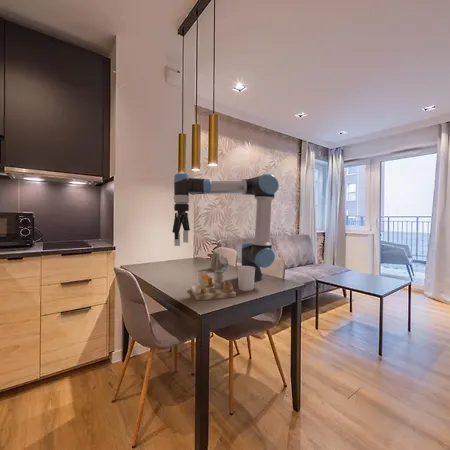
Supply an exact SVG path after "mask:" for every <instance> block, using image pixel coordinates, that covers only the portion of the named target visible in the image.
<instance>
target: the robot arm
mask: <svg viewBox="0 0 450 450" xmlns="http://www.w3.org/2000/svg"><path fill="white" fill-rule="evenodd" d="M189 175H190V174H189V173H185V172H182V173H181V172H178V173H175V175H174V176H173V177H174V179H173V191H174V194H173V200H174V204H173V205H174V207H173V208H174V211H175V213H174V220H173V226H172V234H174V241H173V242H174V246H175V247H180V246H181V232H180V231H181V227H182V228H183V229H182V230H183V232H182V243H187V244H188V243H189V231H190V230H191V228H190V222H189V214H188V212H189V211H190V204H189V203H190V195H192V196H195V195H210V194H211V195H213V194H215V195H216V194H217V195H218V194H242V195H245V196H246V195H249V196H254V199H255V200H256V206H255V207H256V210H255V211H256V213H255V231H254V233H255V234H254V241H253V242H250V243H249V242H248V243H247V242H246V243H242V244H241V266H253V267H255V277H254V282H259V281H261V280H263V273H262V270H261V269H262V268H263V269H265V268H268V267H271V265H272V264H273V263H274V261H275V260H276V254H275V252H274V250H272V249H273V248H272V247H273V244H272V243H271V242H270V240H271V239H270V238H271V237H270V235H271V219H272V216H271V215H272V201H273V200H274V199H275V194H276V193H277V191H278V190H279V187H280V186H279V180H278V179H277V177H276V176H274V175H273V174H271V173H264V174H262V175H259V176H258V175H257V176H255V177H250V178H243V179H241V180H211V179H208V178H193V177H190V176H189Z"/></svg>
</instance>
